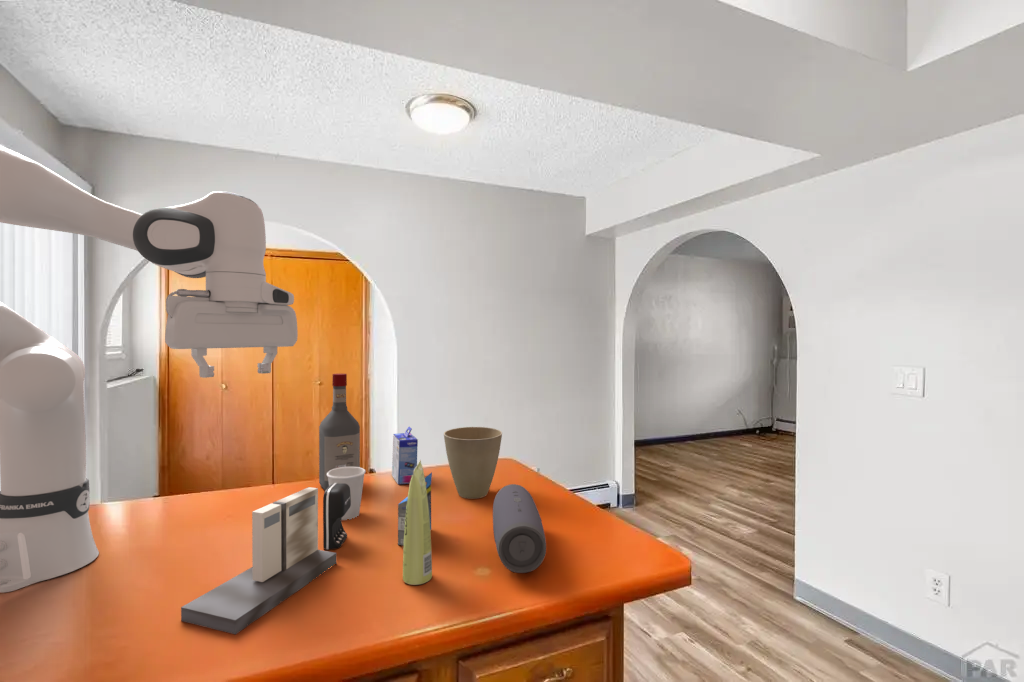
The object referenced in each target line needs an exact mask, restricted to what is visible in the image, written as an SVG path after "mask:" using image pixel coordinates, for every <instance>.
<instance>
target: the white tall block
mask: <svg viewBox="0 0 1024 682" xmlns="http://www.w3.org/2000/svg"><path fill="white" fill-rule="evenodd" d="M251 513H252V514H251V515H252V517H251V518H252V519H251V520H252V521H251V524H252V525H251V527H252V529H251V530H252V532H251V533H252V538H251V539H252V547H251V548H252V553H251V554H252V555H251V556H252V559H251V560H252V561H251V562H252V567H253V580H254V581H259V582H264V581H265V580H267V579H269V578H270V577H272V576H273V575H275V574H277V573H278V572H280V571H281V505H279V504H273V502H271V503H269V504H267V505H264V506H263V507H260V508H257V509H255V510H253V511H252V512H251Z"/></svg>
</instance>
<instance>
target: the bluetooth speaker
mask: <svg viewBox="0 0 1024 682" xmlns="http://www.w3.org/2000/svg"><path fill="white" fill-rule="evenodd" d="M542 521H543V520H542V517H541V515H540V512H539V509H538V507H537V504H536V503H535V500H534V498H533V496H532V494H531V493H530V492H529V491H528V489H526V488H525V487H524V486H522V485H519V484H515V483H512V484H511V483H510V484H506V485H505V486H503V487H502V488H500V489H499V491H498V492H497V493H496V495H495V496H494V498H493V504H492V527H493V529H492V530H493V539H494V543H495V548H496V552H497V556H498V558H499V560H500V562H501V563H502V565H503V566H504V568H506V569H507V570H509V571H511V572H513V573H515V574H516V573H518V574H525V573H531V572H533V571H534V570H536V569H537V568H539V567H540V566H541V565H542V563H543V562H544V560H545V557H546V554H547V541H546V535H545V531H544V525H543V522H542Z"/></svg>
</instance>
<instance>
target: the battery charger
mask: <svg viewBox="0 0 1024 682" xmlns="http://www.w3.org/2000/svg"><path fill="white" fill-rule="evenodd" d="M322 497H323V498H322V526H323V527H322V529H323V530H322V531H323V533H322V534H323V535H322V537H323V538H322V539H323V542H322V543H323V544H322V545H323V547H322V548H323V549H324V550H326V551H328V550H337V549H340V548H341V547H342V546H343V545H344V542H345V541H346V539H347V538H348V533H347V532H346V530H345V529H344V526H343V523H342V522H343V520H342V517H343V516H344V515H345V514H346V512H347V511H348V509H349V508H350V506H351V494H350V487H349V485H348V484H345V483H333V484H331V485H330V486H329V487H328V488H327V489H326V491H325V490H324V493H323V496H322Z"/></svg>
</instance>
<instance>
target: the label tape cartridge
mask: <svg viewBox="0 0 1024 682" xmlns="http://www.w3.org/2000/svg"><path fill="white" fill-rule="evenodd" d="M432 476H433V472H432V471H431V472H430V473H429V474H427V476H425V483H426V491H427V499H428V507H429V518H430V531H431V530H432V479H433V477H432ZM407 499H408V496H406V497H405V498H404V499H403V500H401V501H400V502H399V503H398V504H397V545H398V546H399V545H401V546H400V547H404V528H405V515H406V506H407Z"/></svg>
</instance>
